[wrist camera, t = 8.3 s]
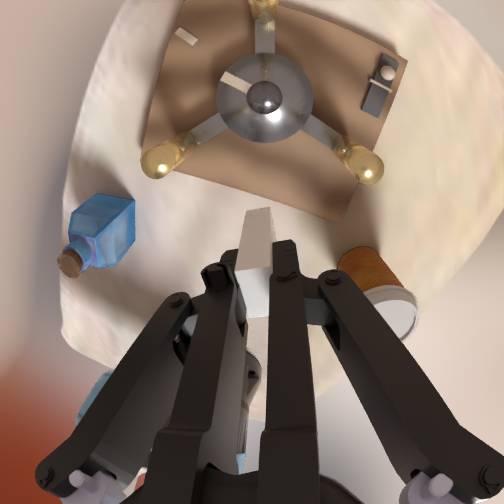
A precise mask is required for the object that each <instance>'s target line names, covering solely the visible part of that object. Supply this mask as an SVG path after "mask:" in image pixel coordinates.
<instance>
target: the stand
mask: <svg viewBox="0 0 504 504" xmlns="http://www.w3.org/2000/svg"><path fill="white" fill-rule="evenodd" d="M251 54H255V21H254V19H253V16H252V13H251V9H250V6H249V2H248V0H184V2H183V5H182V7H181V10H180V13H179V15H178V18H177V21H176V23H175V26H174V29H173V32H172V35H171V38H170V41H169V44H168V47H167V50H166V53H165V56H164V60H163V63H162V66H161V70H160V73H159V77H158V81H157V84H156V88H155V92H154V96H153V100H152V104H151V108H150V113H149V117H148V122H147V127H146V131H145V136H144V142H143V147H142V153H141V158H140V162H141V159H142V156H143V155H144V153H145V152H146V151H148V150H149V149H151V148H153V147H155V146H157V145H159V144H161V143H163V142H165V141H167V140H169V139H171V138H173V137H175V136H177V135H179V134H181V133H183V132H185V131H187V130H192V129H193V128H195V127H196V126H198V125H200V124H201V123H203V122H204V121H206V120H207V119H209V118H211V117H212V116H214V115H216V114H217V113H219V111H218V107H217V100H216V95H217V88H218V84H219V81H220V79H221V77H222V75H223V74H224V73H225V71H226V70H227V69H228V68H229V67H230V66H231V65H232V64H233V63H234V62H236V61H238V60H239V59H241V58H243V57H245V56H248V55H251ZM275 54H277V55H280V56H283V57H286V58H288V59H290V60H291V61H293V62H294V63H296V64H297V65H298V66H299V67H300V68H301V69H302V70H303V71H304V72H305V74H306V75H307V77H308V79H309V81H310V83H311V86H312V90H313V99H314V100H313V108H312V111H311V115H313V116H314V117H316V118H317V119H319V120H320V121H322V122H323V123H325V124H326V125H328V126H329V127H331V128H332V129H334V130H335V131H336V132H338V133H339V134H345V135H346V136H348V137H350V138H351V139H353V140H354V141H356V142H357V143H359V144H361V145H362V146H364V147H365V148H367V149H368V150H370V151H371V152H372V151H373V149H374V147H375V144H376V142H377V140H378V137H379V135H380V133H381V130H382V128H383V125H384V123H385V121H386V118H387V116H388V113H389V111H390V108H391V106H392V103H393V100H394V98H395V95H396V93H397V90H398V87H399V85H400V82H401V79H402V76H403V74H404V71H405V68H406V65H407V62H408V61H407V60H406V59H404V58H402V57H401V56H399V55H397V54H395V53H394V52H392V51H390V50H388V49H386V48H385V47H383V46H381V45H379V44H377V43H375V42H373V41H371V40H369V39H367V38H365V37H363V36H361V35H359V34H357V33H354V32H352V31H350V30H348V29H345V28H343V27H341V26H338V25H336V24H334V23H331V22H328V21H326V20H323V19H321V18H318V17H315V16H312V15H309V14H307V13H304V12H301V11H297V10H294V9H291V8H288V7H284V6H281V5H278V19H277V21H276V22H275ZM173 171H177V172H181V173H184V174H188V175H191V176H195V177H198V178H202V179H205V180H209V181H212V182H216V183H219V184H222V185H226V186H229V187H232V188H235V189H239V190H242V191H245V192H248V193H251V194H254V195H258V196H261V197H264V198H267V199H270V200H273V201H276V202H279V203H282V204H285V205H288V206H291V207H294V208H297V209H300V210H302V211H305V212H308V213H311V214H314V215H317V216H319V217H322V218H325V219H328V220H330V221H333V222H336V223H339V222H340V220H341V218H342V216H343V214H344V212H345V210H346V208H347V206H348V204H349V202H350V200H351V198H352V195H353V193H354V191H355V189H356V187H357V185H358V183H359V181H358V180H357V179H356V178H355V176H354V175H353V174H352V173H351V172H350V171H349V170H348V169H347V167H346V166H345V165H344V164H343V163H342V162H341V161H340V160H339V159H338V158H337V157H336V156H335V154H334V153H333V152H332V151H331V150H330V148H329V147H327V146H326V145H324V144H323V143H321V142H320V141H318V140H317V139H315V138H314V137H312V136H310V135H309V134H307V133H306V132H304V131H303V130H301V129H300V130H299V131H298V132H297V133H295V134H294V135H292V136H291V137H289V138H287V139H284V140H281V141H278V142H272V143H258V142H253V141H250V140H247V139H244V138H242V137H240V136H239V135H237V134H236V133H234V132H233V131H232V130H231V129H230V128H227V129H226V130H224V131H222V132H221V133H219V134H217V135H215V136H214V137H212V138H211V139H209V140H207V141H206V142H204V143H202V144H201V145H200V147H199V148H198V149H197V150H196V151H195V152H193V153H192V154H191V155H190V156H188V157H187V158H186V159H185V160H183V161H182V162H181V163H180V164H179V165H177V166H176V167H175V168H174V169H173Z"/></svg>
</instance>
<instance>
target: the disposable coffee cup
mask: <svg viewBox="0 0 504 504" xmlns="http://www.w3.org/2000/svg"><path fill="white" fill-rule="evenodd" d="M338 270H342V271H344V272H346V273H347V274H348V275H349V276H350V277H351V279H352V280H353V281H354V282H355V283H356V285H357V286H358V287H359V288H360V289H361V291H362V292H363V293H364V294H365V296H366V297H367V298H368V299H369V301H370V302H371V303H372V304H373V306H374V307H375V308H376V309H377V311H378V312H379V313H380V314H381V316H382V317H383V318H384V319H385V321H386V322H387V323H388V325H389V326H390V327H391V328H392V330H393V331H394V332H395V334H396V335H397V336H398V338H399V339H400V340H401V342H402V343H403V342H404V341H406V340H407V339H408V338H409V337H410V336H411V335H412V333H413V332H414V331H415V329H416V327H417V324H418V320H419V314H418V313H419V304H418V301H417V299H416V297H415V296H414V295H413V294H412V293H411V292H410V291H408V290H407V289H405V288H404V286H403V285H402V284H401V282H400V281H399V280H398V279H397V277H396V276H395V274H394V273H393V272H392V271H391V269H390V268H389V267H388V266H387V264H386V263H385V262H384V261H383V259H382V258H381V257H380V256H379V254H378V253H377V252H376V251H375V250H373V249H372V248H369V247H357V248H354V249H352V250H350V251H348V252H347V253H345V254H344V255H343V256H342V258H341V259H340V261H339V264H338Z"/></svg>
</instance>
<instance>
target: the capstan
mask: <svg viewBox="0 0 504 504" xmlns="http://www.w3.org/2000/svg"><path fill="white" fill-rule="evenodd" d="M248 2H249V6H250V9H251V13H252V16H253V19H254V21H255V54H251V55H248V56H245V57H243V58H241V59H239V60H238V61H236V62H234V63H233V64H232V65H231V66H230V67H229V68H228V69H227V70H226V71H225V73H224V74H223V75H222V77H221V79H220V81H219V84H218V88H217V95H216V100H217V107H218V111H219V113H217V114H216V115H214V116H212V117H211V118H209V119H207V120H206V121H204V122H203V123H201V124H200V125H198V126H196V127H195V128H193V129H192V130H187V131H185V132H183V133H181V134H179V135H177V136H175V137H173V138H171V139H169V140H167V141H165V142H163V143H161V144H159V145H157V146H155V147H153V148H151V149H149V150H148V151H146V152H145V153H144V155H143V156H142V159H141V167H142V170H143V172H144V173H145V174H146V175H147V176H148V177H150V178H152V179H160V178H163V177H164V176H165V175H167V174H168V173H169V172H170V171H171V170H173V169H174V168H175V167H176V166H177V165H179V164H180V163H181V162H182V161H183V160H185V159H186V158H187V157H188V156H190V155H191V154H192V153H193V152H195V151H196V150H197V149H198V148H199V147H200V145H201V144H202V143H204V142H206V141H207V140H209V139H211V138H212V137H214V136H215V135H217V134H219V133H221V132H222V131H224V130H226V129H227V128H230V129H231V130H232V131H233V132H234V133H236V134H237V135H239V136H240V137H242V138H244V139H247V140H250V141H253V142H258V143H272V142H278V141H281V140H284V139H287V138H289V137H291V136H292V135H294V134H295V133H297V132H298V131H299V130H300V129H301V130H303V131H304V132H306V133H307V134H309V135H310V136H312V137H314V138H315V139H317V140H318V141H320V142H321V143H323V144H324V145H326V146H327V147H329V148H330V150H331V151H332V152H333V153H334V154H335V156H336V157H337V158H338V159H339V160H340V161H341V162H342V163H343V164H344V165H345V166H346V167H347V169H348V170H349V171H350V172H351V173H352V174H353V175H354V176H355V178H356V179H357V180H358V181H359V182H361V183H362V184H365V185H372V184H375V183H377V182H378V181H379V180H380V179H381V178H382V176H383V173H384V164H383V162H382V160H381V159H380V157H378V156H377V155H376V154H374V153H373V152H371V151H370V150H368V149H367V148H365V147H364V146H362V145H361V144H359V143H357V142H356V141H354V140H353V139H351V138H350V137H348V136H346V135H345V134H339V133H338V132H336V131H335V130H334V129H332V128H331V127H329V126H328V125H326V124H325V123H323V122H322V121H320V120H319V119H317V118H316V117H314V116H313V115H311V111H312V108H313V100H314V99H313V90H312V86H311V83H310V81H309V79H308V77H307V75H306V74H305V72H304V71H303V70H302V69H301V68H300V67H299V66H298V65H297V64H296V63H294V62H293V61H291V60H290V59H288V58H286V57H283V56H280V55H277V54H275V22H276V21H277V19H278V4H279V0H248Z"/></svg>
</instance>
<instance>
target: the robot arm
mask: <svg viewBox="0 0 504 504" xmlns="http://www.w3.org/2000/svg"><path fill="white" fill-rule="evenodd" d="M201 276H202V278H203V281H204V284H205V286H206V290H205V293H204V294H202V295H199V296H196V297H193V298H190V296H189V295H188V294H187V293H184V292H178V293H174V294H172V295H171V296H169V297H168V298H167V299H166V300H165V301H164V302H163V303H162V305H161V306H160V307H159V309H158V310H157V311H156V313H155V314H154V315H153V317H152V318H151V319H150V321H149V322H148V324H147V325H146V326H145V328H144V329H143V330H142V332H141V333H140V335H139V336H138V337H137V339H136V340H135V341H134V343H133V344H132V346H131V347H130V348H129V350H128V351H127V353H126V354H125V356H124V357H123V358H122V360H121V361H120V363H119V364H118V365H117V367H116V368H115V370H109V371H106V372H105V373H103V374H102V375H101V377H100V378H99V379H98V381H97V382H96V383H95V385H94V387H93V388H92V390H91V391H90V393H89V395H88V396H87V398H86V400H85V401H84V403H83V405H82V407H81V409H80V412H79V414H78V416H77V417H76V420H75V423H76V425H77V427H76V428H75V430H74V431H73V433H72V434H71V436H70V437H69V438H68V439H67V440H66V441H64V442H63V443H62V444H61V445H60V446H59V447H57V449H55V450H54V451H53V452H52V453H51V454H50V455H48V456H47V457H46V458H45V459H43V460H42V461H41V462H40V463H39V465H38V466H37V468H36V471H35V478H36V482H37V484H38V485H39V487H40V488H42V489H43V490H45V491H47V492H49V493H51V494H53V495H55V496H57V497H59V498H60V499H61V501H62V502H63V504H364V503H363V502H362V501H360V500H359V499H358V498H357V497H356V496H355V495H353V494H352V493H351V492H350V491H349V490H348V489H347V488H346V487H344V486H343V485H342V484H341V483H339V482H337V481H336V480H334V479H332V478H330V477H328V476H326V475H323V474H320V468H319V451H318V434H317V420H316V409H315V396H314V385H313V374H312V364H311V355H310V345H309V337H308V328H307V324H311V325H321V326H322V329H323V331H324V333H325V335H326V337H327V339H328V340H329V342H330V344H331V346H332V348H333V350H334V352H335V354H336V356H337V357H338V359H339V361H340V363H341V365H342V367H343V369H344V371H345V373H346V375H347V376H348V378H349V380H350V382H351V384H352V386H353V388H354V390H355V392H356V394H357V396H358V397H359V400H360V402H361V403H362V405H363V407H364V409H365V411H366V413H367V415H368V417H369V419H370V421H371V423H372V425H373V427H374V429H375V431H376V433H377V435H378V437H379V439H380V441H381V443H382V445H383V447H384V449H385V451H386V454H387V456H388V457H389V460H390V462H391V464H392V465H393V467H394V469H395V471H396V472H397V474H398V475H399V476H400V477H401V479H402V480H403V482H404V483H405V484H406V486H405V487H404V489H403V490H402V492H401V494H400V497H399V504H478V503H480V502H483V501H485V500H487V499H490V498H491V497H493V496H495V495H497V494H498V493H499V492H500V491H501V490H502V488H503V487H504V456H503V455H502V454H500V453H499V452H497V451H496V450H494V449H493V448H492V447H490V446H489V445H487V444H486V443H484V442H483V441H482V440H480V439H479V438H477V437H476V436H474V435H473V434H472V433H470V432H469V431H467V430H466V429H465V428H463V427H462V426H460V425H459V423H458V422H457V420H456V419H455V417H454V416H453V414H452V412H451V411H450V409H449V408H448V406H447V405H446V403H445V402H444V401H443V399H442V397H441V396H440V395H439V393H438V392H437V390H436V389H435V387H434V386H433V384H432V383H431V382H430V380H429V379H428V377H427V376H426V374H425V373H424V372H423V370H422V369H421V367H420V366H419V365H418V363H417V362H416V361H415V359H414V358H413V356H412V355H411V354H410V352H409V351H408V350H407V348H406V347H405V346H404V344H403V343H402V342H401V340H400V339H399V338H398V336H397V335H396V334H395V332H394V331H393V330H392V328H391V327H390V326H389V325H388V323H387V322H386V321H385V319H384V318H383V317H382V316H381V314H380V313H379V312H378V311H377V309H376V308H375V307H374V306H373V304H372V303H371V302H370V301H369V299H368V298H367V297H366V296H365V294H364V293H363V292H362V291H361V289H360V288H359V287H358V286H357V285H356V283H355V282H354V281H353V280H352V279H351V277H350V276H349V275H348V274H347V273H346V272H344V271H342V270H335V269H333V270H327V271H325V272H323V273H321V274H320V275H319V276H318V279H313V278H308V277H305V276H304V275H302V274H301V273H300V269H299V263H298V256H297V250H296V244H295V243H294V242H293V241H292V240H291V239H290V240H284V241H278V242H277V239H276V234H275V229H274V224H273V219H272V214H271V210H270V207H266V208H260V209H255V210H249V211H246V214H245V219H244V224H243V229H242V234H241V240H240V245H239V249H233V250H227V251H226V252H225V253H224V254H223V255H222V256H221V259H220V262H217V263H213V264H210V265H208V266H206V267H205V268H204V269H203V270H202V271H201ZM246 311H247V314H248V317H249V318H255V317H263V316H269V326H268V365H267V396H266V422H265V429H264V431H263V432H262V434H261V439H260V453H259V470H258V471H253V472H249V473H245V474H241V473H242V470H243V465H244V460H245V457H246V454H245V449H246V438H247V427H248V414H249V406H250V403H251V401H252V399H253V397H254V395H255V393H256V391H257V389H258V387H259V385H260V382H261V373H262V369H261V366H260V364H259V362H258V361H257V360H256V359H255V358H254V357H253V356H252V355H250V354H248V353H247V352H246V344H247V333H248V323H247V320H246ZM176 335H178V339H177V340H176V341H175V340H174V339H175V337H176ZM145 472H146V475H145V480H144V484H143V485H142V486H141V487H139V488H138V489H137V490H136V491H134V488H135V485H136V482H137V479H138V476H139V475H140V474H142V473H145Z"/></svg>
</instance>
